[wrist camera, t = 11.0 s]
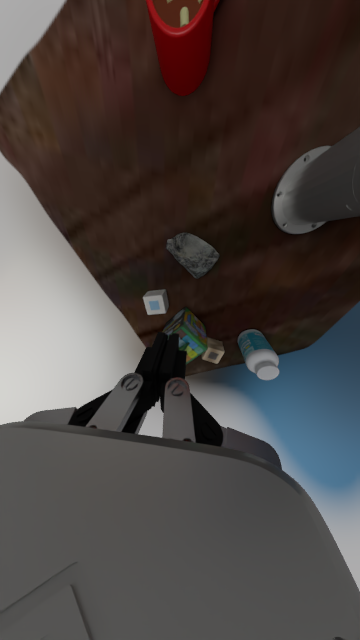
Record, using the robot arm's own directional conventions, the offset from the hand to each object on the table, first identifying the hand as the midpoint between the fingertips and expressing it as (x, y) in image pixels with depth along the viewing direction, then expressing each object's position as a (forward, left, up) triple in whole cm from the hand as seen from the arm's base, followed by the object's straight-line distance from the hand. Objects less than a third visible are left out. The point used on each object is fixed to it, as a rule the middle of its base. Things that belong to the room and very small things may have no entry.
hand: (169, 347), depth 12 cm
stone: (-1, -5, -29) cm, 30 cm away
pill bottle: (-20, +18, -29) cm, 40 cm away
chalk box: (0, +15, -29) cm, 33 cm away
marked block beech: (-9, +22, -29) cm, 38 cm away
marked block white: (+8, +7, -29) cm, 31 cm away
